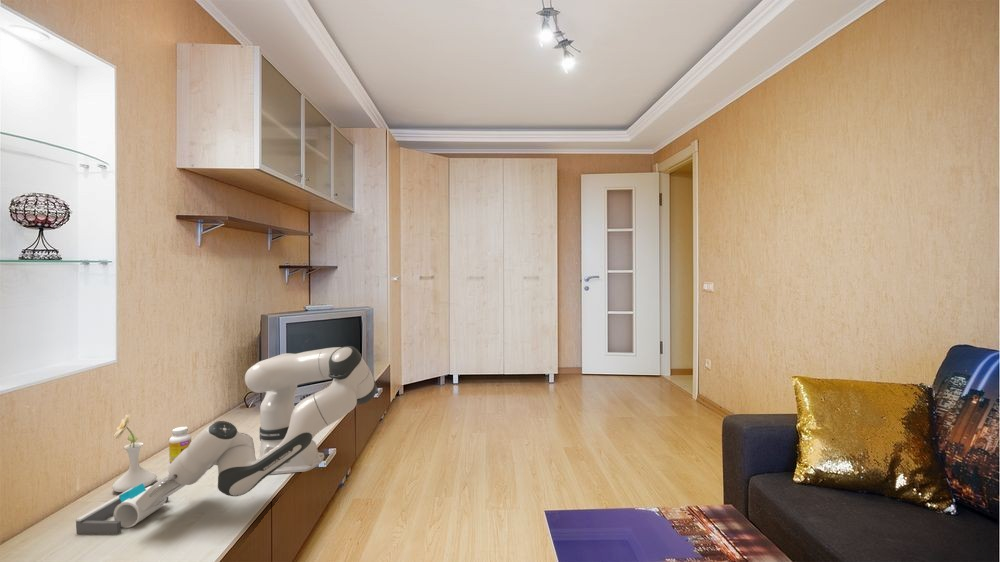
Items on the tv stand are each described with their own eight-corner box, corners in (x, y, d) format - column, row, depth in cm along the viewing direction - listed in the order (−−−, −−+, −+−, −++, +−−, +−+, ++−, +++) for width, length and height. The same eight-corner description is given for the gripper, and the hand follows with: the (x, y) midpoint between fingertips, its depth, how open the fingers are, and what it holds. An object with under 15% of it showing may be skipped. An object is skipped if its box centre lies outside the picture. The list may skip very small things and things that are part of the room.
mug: (163, 471, 134) (129, 491, 122) (176, 499, 134) (143, 521, 122) (128, 487, 134) (91, 509, 122) (141, 514, 134) (105, 538, 122)
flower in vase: (120, 483, 149) (117, 409, 148) (161, 476, 153) (158, 404, 152) (103, 501, 137) (100, 421, 136) (149, 493, 141) (146, 415, 141)
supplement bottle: (180, 467, 160) (179, 432, 159) (165, 466, 161) (163, 431, 161) (196, 460, 166) (195, 426, 166) (181, 458, 167) (180, 425, 167)
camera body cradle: (168, 500, 136) (167, 487, 136) (117, 534, 119) (116, 519, 119) (132, 500, 137) (131, 487, 137) (76, 534, 120) (75, 519, 120)
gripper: (167, 494, 116) (133, 530, 117) (219, 460, 137) (190, 491, 137) (150, 477, 116) (115, 514, 117) (205, 446, 137) (175, 477, 138)
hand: (156, 501), depth 127 cm, fingers closed
